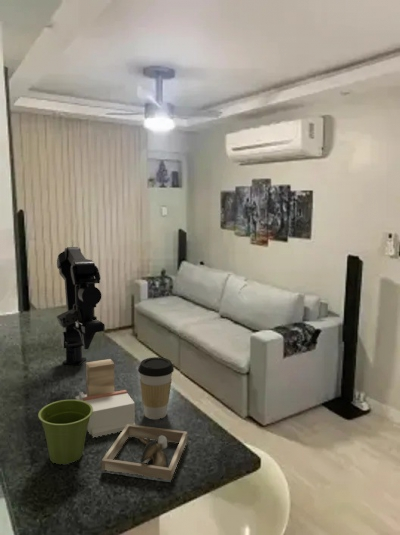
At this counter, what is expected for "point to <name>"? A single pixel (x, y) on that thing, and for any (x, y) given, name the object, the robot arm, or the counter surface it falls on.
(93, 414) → the housing
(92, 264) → the robot arm
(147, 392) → the coffee cup
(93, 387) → the light wood block
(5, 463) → the counter surface
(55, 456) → the plant pot
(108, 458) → the frame
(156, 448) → the eagle figurine
